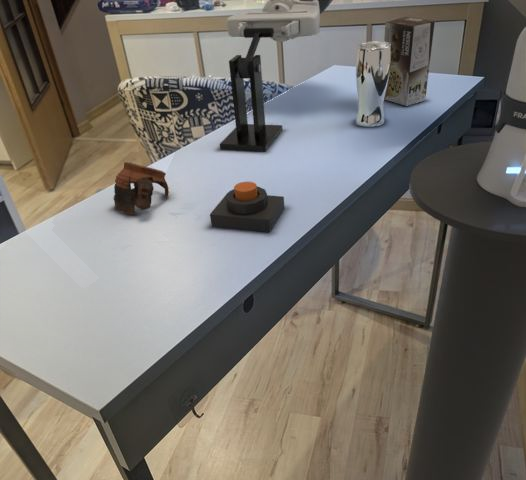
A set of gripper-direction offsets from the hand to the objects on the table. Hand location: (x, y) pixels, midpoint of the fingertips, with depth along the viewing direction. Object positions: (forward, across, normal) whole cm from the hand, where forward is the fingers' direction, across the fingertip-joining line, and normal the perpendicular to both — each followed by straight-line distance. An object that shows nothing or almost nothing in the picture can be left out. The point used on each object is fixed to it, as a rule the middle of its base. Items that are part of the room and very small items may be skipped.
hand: (262, 31), depth 107 cm
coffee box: (-18, +28, +18) cm, 38 cm away
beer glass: (-2, +23, +18) cm, 29 cm away
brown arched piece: (+43, -9, +18) cm, 48 cm away
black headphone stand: (+11, 0, +18) cm, 21 cm away
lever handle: (+6, 0, +3) cm, 7 cm away
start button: (+44, +11, +15) cm, 48 cm away
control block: (+44, +11, +18) cm, 49 cm away
